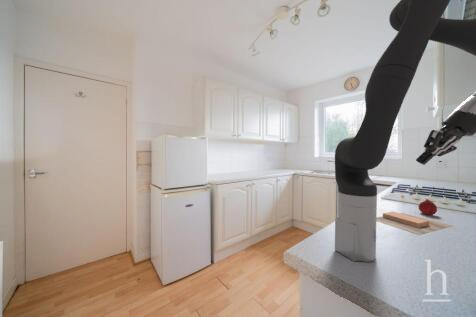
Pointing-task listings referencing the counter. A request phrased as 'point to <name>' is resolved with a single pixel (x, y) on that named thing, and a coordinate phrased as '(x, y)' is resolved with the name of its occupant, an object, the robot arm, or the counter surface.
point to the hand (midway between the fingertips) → (419, 162)
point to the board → (421, 230)
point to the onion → (427, 207)
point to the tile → (406, 219)
